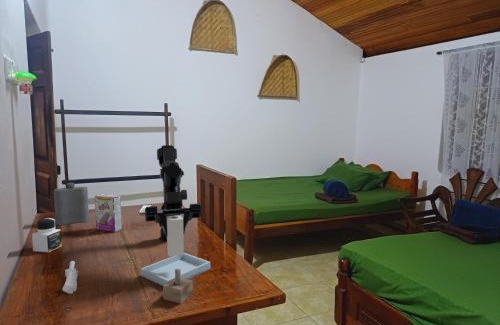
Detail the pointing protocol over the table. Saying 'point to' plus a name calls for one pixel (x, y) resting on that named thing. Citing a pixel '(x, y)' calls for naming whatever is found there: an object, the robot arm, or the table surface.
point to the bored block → (175, 235)
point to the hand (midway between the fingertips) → (175, 234)
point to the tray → (166, 268)
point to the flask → (71, 205)
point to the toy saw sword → (70, 279)
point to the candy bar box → (108, 212)
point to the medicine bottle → (46, 236)
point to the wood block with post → (178, 288)
